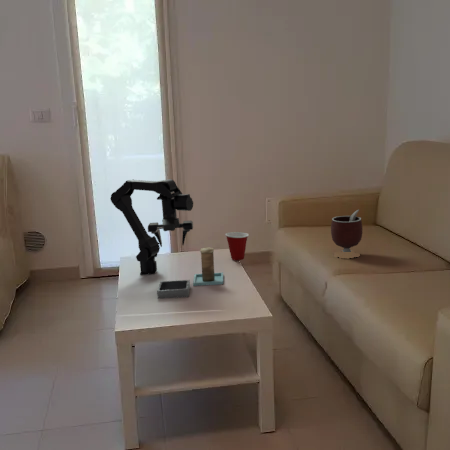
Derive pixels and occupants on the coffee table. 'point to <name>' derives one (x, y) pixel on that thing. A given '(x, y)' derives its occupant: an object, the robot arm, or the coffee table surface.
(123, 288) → the coffee table surface
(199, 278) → the tray
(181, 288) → the holder
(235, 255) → the plastic cup
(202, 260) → the canister
